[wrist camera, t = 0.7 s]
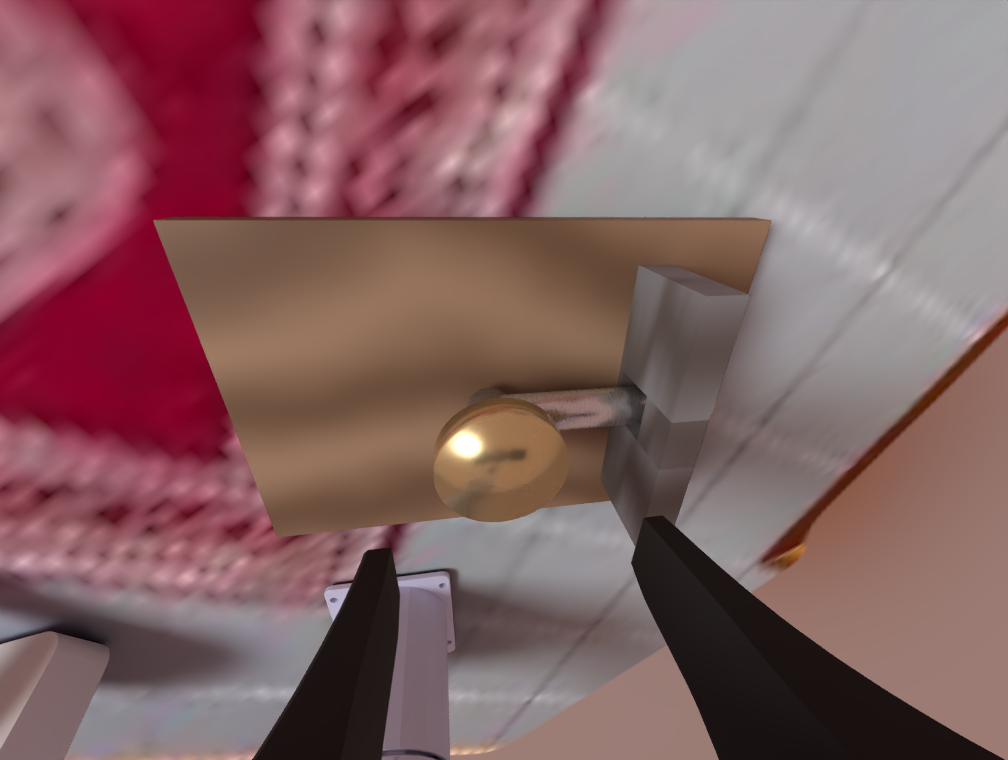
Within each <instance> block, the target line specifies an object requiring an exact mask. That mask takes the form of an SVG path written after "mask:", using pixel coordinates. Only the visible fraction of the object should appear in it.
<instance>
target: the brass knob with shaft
mask: <svg viewBox="0 0 1008 760" xmlns="http://www.w3.org/2000/svg"><path fill="white" fill-rule="evenodd" d="M646 399H647V396H646V395H645V394H644V393H643V392H642V391H641V390H640V388H639V387H638V386H629V387H614V388H599V389H583V390H568V391H553V392H538V393H523V394H507V395H506V394H505V393H504V392H503V391H501V390H499V389H496V388H483V389H480V390H478V391H476V392H475V393H474V394H473V395H472V396H471V397H470V399H469V400H468V403H467V407H466V408H464V409H462V410H461V411H459V412H458V413H457V414H455V415H454V416H453V417H452V418H451V419H450V420H449V421H448V422H447V423H446V424H445V425H444V427H443V428H442V430H441V431H440V433H439V435H438V437H437V440H436V443H435V448H434V484H435V488H436V491H437V493H438V495H439V497H440V498H441V500H442V501H443V502H444V503H445V505H447V506H448V507H449V508H450V509H451V510H453V511H454V512H456V513H457V514H459V515H461V516H463V517H466V518H469V519H473V520H477V521H484V522H502V521H508V520H513V519H517V518H520V517H523V516H526V515H528V514H530V513H533V512H534V511H536V510H538V509H540V508H541V507H543V506H544V505H545V504H547V503H548V502H549V501H550V500H551V499H552V498H553V497H554V496H555V495H556V494H557V493H558V492H559V490H560V489H561V488H562V486H563V484H564V482H565V480H566V478H567V475H568V471H569V464H570V459H569V453H568V449H567V446H566V444H565V442H564V440H563V438H562V436H561V434H560V432H559V430H569V429H581V428H593V427H606V426H618V425H630V424H641V421H642V417H643V413H644V408H645V404H646ZM715 406H716V401H715V404H714V407H713V410H712V413H711V415H712V414H713V413H714V410H715Z"/></svg>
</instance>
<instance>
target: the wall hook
mask: <svg viewBox="0 0 1008 760" xmlns="http://www.w3.org/2000/svg"><path fill="white" fill-rule="evenodd" d="M109 657H110V651H109V648H108V647H107V646H105V645H103V644H99V643H95V642H91V641H87V640H83V639H79V638H75V637H71V636H68V635H64V634H60V633H56V632H52V631H48V632H43V633H40V634H36V635H32V636H29V637H25V638H21V639H18V640H14V641H10V642H7V643H3V644H0V760H64V758H65V756H66V754H67V751H68V749H69V747H70V745H71V743H72V741H73V738H74V736H75V734H76V732H77V730H78V728H79V725H80V723H81V721H82V719H83V717H84V715H85V712H86V710H87V708H88V706H89V704H90V702H91V699H92V697H93V695H94V693H95V691H96V689H97V686H98V684H99V682H100V680H101V678H102V676H103V673H104V671H105V669H106V667H107V664H108V662H109Z"/></svg>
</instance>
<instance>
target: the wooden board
mask: <svg viewBox="0 0 1008 760" xmlns="http://www.w3.org/2000/svg"><path fill="white" fill-rule="evenodd" d="M153 221H154V224H155V226H156V229H157V232H158V234H159V237H160V239H161V242H162V244H163V247H164V249H165V252H166V255H167V257H168V260H169V262H170V265H171V267H172V270H173V272H174V275H175V278H176V280H177V283H178V285H179V288H180V290H181V293H182V295H183V298H184V301H185V303H186V306H187V308H188V311H189V313H190V316H191V318H192V321H193V323H194V326H195V329H196V331H197V334H198V336H199V339H200V341H201V344H202V346H203V349H204V352H205V354H206V357H207V359H208V362H209V364H210V367H211V369H212V372H213V375H214V377H215V380H216V382H217V385H218V387H219V390H220V392H221V395H222V397H223V400H224V403H225V405H226V408H227V410H228V413H229V415H230V418H231V420H232V423H233V426H234V428H235V431H236V433H237V436H238V438H239V441H240V443H241V446H242V449H243V451H244V454H245V456H246V459H247V461H248V464H249V466H250V469H251V471H252V474H253V477H254V479H255V482H256V484H257V487H258V489H259V492H260V494H261V497H262V500H263V502H264V505H265V507H266V510H267V512H268V515H269V517H270V520H271V523H272V525H273V528H274V530H275V533H276V535H277V537H285V536H294V535H303V534H312V533H321V532H330V531H339V530H348V529H357V528H366V527H375V526H384V525H393V524H402V523H411V522H421V521H430V520H439V519H448V518H457V517H463V516H461V515H459V514H457V513H456V512H454V511H453V510H451V509H450V508H449V507H448V506H447V505H445V503H444V502H443V501H442V500H441V498H440V497H439V495H438V493H437V491H436V488H435V484H434V448H435V443H436V440H437V437H438V435H439V433H440V431H441V430H442V428H443V427H444V425H445V424H446V423H447V422H448V421H449V420H450V419H451V418H452V417H453V416H454V415H455V414H457V413H458V412H459V411H461V410H462V409H464V408H466V407H467V403H468V400H469V399H470V397H471V396H472V395H473V394H474V393H475V392H476V391H478V390H480V389H483V388H496V389H499V390H501V391H503V392H504V393H505V394H506V395H507V394H523V393H538V392H553V391H568V390H583V389H599V388H614V387H629V386H638V387H639V388H640V390H641V391H642V392H643V393H644V394H645V395H646V396H647V399H646V404H645V408H644V413H643V417H642V421H641V424H630V425H618V426H606V427H593V428H581V429H569V430H559V432H560V434H561V436H562V438H563V440H564V442H565V444H566V446H567V449H568V453H569V459H570V464H569V471H568V475H567V478H566V480H565V482H564V484H563V486H562V488H561V489H560V490H559V492H558V493H557V494H556V495H555V496H554V497H553V498H552V499H551V500H550V501H549V502H548V503H547V504H545V505H544V506H543V507H541V508H547V507H556V506H566V505H575V504H584V503H593V502H602V501H611V502H612V504H613V505H614V507H615V509H616V511H617V513H618V515H619V517H620V519H621V521H622V522H623V524H624V526H625V528H626V530H627V532H628V534H629V536H630V537H631V539H632V541H633V543H634V545H635V547H636V544H637V540H638V536H639V532H640V529H641V525H642V521H643V518H645V517H653V516H661V515H663V516H664V517H665V518H666V519H667V520H669V521H670V522H671V523H672V524H673V525H674V526H675V523H676V520H677V517H678V514H679V511H680V508H681V505H682V502H683V498H684V495H685V492H686V489H687V486H688V483H689V480H690V477H691V474H692V471H693V468H694V465H695V462H696V459H697V456H698V453H699V450H700V447H701V444H702V441H703V438H704V435H705V432H706V429H707V426H708V422H709V419H710V416H711V413H712V410H713V407H714V404H715V401H716V398H717V395H718V392H719V389H720V386H721V383H722V380H723V377H724V374H725V371H726V368H727V365H728V362H729V359H730V356H731V353H732V349H733V346H734V343H735V340H736V337H737V334H738V331H739V328H740V325H741V322H742V319H743V316H744V313H745V310H746V307H747V304H748V301H749V298H750V295H749V294H748V291H749V288H750V285H751V282H752V279H753V276H754V273H755V270H756V267H757V264H758V260H759V257H760V254H761V251H762V248H763V245H764V242H765V239H766V236H767V233H768V230H769V227H770V224H771V220H764V219H757V218H588V217H170V218H164V219H158V220H153Z"/></svg>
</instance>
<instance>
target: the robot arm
mask: <svg viewBox="0 0 1008 760" xmlns="http://www.w3.org/2000/svg"><path fill="white" fill-rule="evenodd" d="M631 564H632V567H633V569H634V572H635V575H636V578H637V581H638V583H639V586H640V589H641V591H642V594H643V596H644V599H645V601H646V603H647V605H648V607H649V609H650V611H651V613H652V615H653V617H654V619H655V621H656V623H657V625H658V627H659V629H660V631H661V633H662V635H663V637H664V639H665V641H666V643H667V645H668V647H669V649H670V651H671V653H672V655H673V657H674V659H675V661H676V663H677V665H678V667H679V669H680V671H681V673H682V675H683V677H684V679H685V681H686V683H687V685H688V687H689V689H690V691H691V694H692V696H693V698H694V700H695V702H696V704H697V706H698V709H699V711H700V714H701V716H702V719H703V721H704V724H705V726H706V729H707V731H708V733H709V736H710V738H711V741H712V743H713V746H714V748H715V750H716V753H717V756H718V758H719V760H1004V759H1003V758H1001V757H999V756H997V755H995V754H994V753H992V752H990V751H988V750H986V749H984V748H982V747H981V746H979V745H977V744H975V743H973V742H972V741H970V740H968V739H966V738H964V737H963V736H961V735H959V734H957V733H956V732H954V731H952V730H951V729H949V728H947V727H946V726H944V725H942V724H940V723H939V722H937V721H935V720H934V719H932V718H930V717H929V716H927V715H925V714H924V713H922V712H920V711H918V710H917V709H915V708H914V707H912V706H910V705H909V704H907V703H906V702H904V701H902V700H901V699H899V698H897V697H896V696H894V695H892V694H891V693H889V692H888V691H886V690H885V689H883V688H881V687H880V686H879V685H877V684H875V683H874V682H872V681H871V680H869V679H868V678H866V677H864V676H863V675H861V674H860V673H859V672H857V671H856V670H854V669H852V668H851V667H849V666H848V665H846V664H845V663H844V662H842V661H840V660H839V659H837V658H836V657H835V656H833V655H832V654H830V653H829V652H827V651H826V650H825V649H823V648H822V647H821V646H819V645H818V644H816V643H815V642H814V641H812V640H811V639H810V638H808V637H807V636H805V635H804V634H803V633H801V632H800V631H799V630H797V629H796V628H794V627H793V626H792V625H790V624H789V623H788V622H786V621H785V620H784V619H783V618H781V617H780V616H779V615H777V614H776V613H775V612H774V611H772V610H771V609H770V608H769V607H767V606H766V605H765V604H764V603H762V602H761V601H760V600H759V599H757V598H756V597H755V596H754V595H752V594H751V593H750V592H749V591H748V590H746V589H745V588H744V587H743V586H742V585H740V584H739V583H738V582H737V581H736V580H735V579H733V578H732V577H731V576H730V575H729V574H728V573H726V572H725V571H724V570H723V569H722V568H721V567H720V566H718V565H717V564H716V563H715V562H714V561H713V560H712V559H711V558H709V557H708V556H707V555H706V554H705V553H704V552H703V551H702V550H701V549H699V548H698V547H697V546H696V545H695V544H694V543H693V542H692V541H691V540H689V539H688V538H687V537H686V536H685V535H684V534H683V533H682V532H681V531H680V530H679V529H677V528H676V527H675V526H674V525H673V524H672V523H671V522H670V521H669V520H667V519H666V518H665V517H664V516H663V515H661V516H653V517H645V518H643V521H642V525H641V529H640V532H639V536H638V540H637V544H636V547H635V551H634V555H633V558H632V562H631ZM325 599H326V602H327V605H328V607H329V610H330V613H331V616H332V619H333V623H332V625H331V627H330V629H329V631H328V633H327V635H326V637H325V639H324V641H323V643H322V645H321V646H320V648H319V650H318V652H317V654H316V655H315V657H314V659H313V661H312V663H311V664H310V666H309V668H308V670H307V671H306V673H305V675H304V677H303V679H302V680H301V682H300V684H299V686H298V687H297V689H296V691H295V692H294V694H293V696H292V697H291V699H290V701H289V702H288V704H287V706H286V707H285V709H284V711H283V712H282V714H281V716H280V717H279V719H278V720H277V722H276V724H275V725H274V727H273V728H272V730H271V731H270V733H269V735H268V736H267V738H266V739H265V741H264V742H263V744H262V745H261V747H260V749H259V750H258V752H257V753H256V755H255V756H254V758H253V759H252V760H450V736H449V693H448V653H450V652H453V651H454V650H455V635H454V623H453V610H452V598H451V586H450V575H449V573H448V572H445V571H440V572H432V573H425V574H417V575H409V576H401V577H397V575H396V569H395V564H394V559H393V553H392V548H382V549H374V550H368V551H366V552H365V553H364V555H363V558H362V560H361V563H360V565H359V568H358V570H357V573H356V575H355V577H354V580H353V582H352V583H347V584H340V585H332V586H329V587H328V588H327V589H326V591H325Z"/></svg>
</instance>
